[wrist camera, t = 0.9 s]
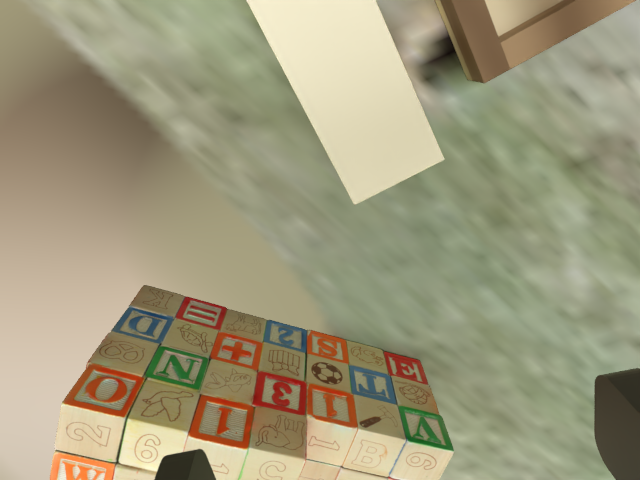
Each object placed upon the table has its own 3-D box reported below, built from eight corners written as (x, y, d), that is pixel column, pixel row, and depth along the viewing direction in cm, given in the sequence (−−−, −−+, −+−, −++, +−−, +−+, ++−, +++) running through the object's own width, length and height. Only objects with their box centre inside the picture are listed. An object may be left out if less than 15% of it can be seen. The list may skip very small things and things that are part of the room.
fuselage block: (291, -141, 25) (285, -207, 18) (415, 134, 30) (444, 159, 24) (209, -88, 26) (176, -133, 19) (344, 171, 31) (354, 205, 25)
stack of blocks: (422, 356, 37) (474, 498, 25) (392, 418, 39) (428, 574, 27) (141, 283, 34) (56, 405, 22) (126, 354, 36) (42, 498, 24)
